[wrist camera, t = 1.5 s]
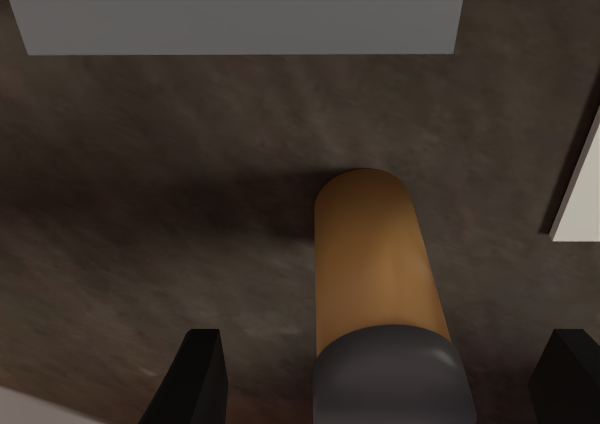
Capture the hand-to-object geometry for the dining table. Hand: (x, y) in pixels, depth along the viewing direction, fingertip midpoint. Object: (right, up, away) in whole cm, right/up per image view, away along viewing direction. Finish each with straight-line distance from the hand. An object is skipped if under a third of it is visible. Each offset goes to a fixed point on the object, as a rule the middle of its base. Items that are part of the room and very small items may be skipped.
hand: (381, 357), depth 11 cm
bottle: (0, +3, +4) cm, 5 cm away
